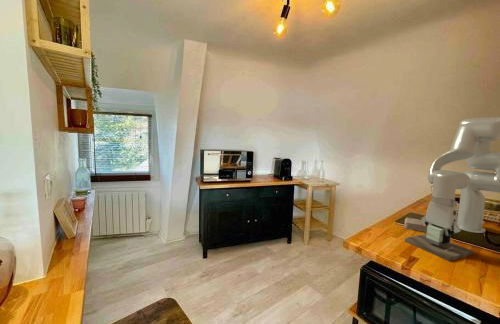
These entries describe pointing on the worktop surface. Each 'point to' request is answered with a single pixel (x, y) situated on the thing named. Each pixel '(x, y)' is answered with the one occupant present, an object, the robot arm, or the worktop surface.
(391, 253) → the worktop surface
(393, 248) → the worktop surface
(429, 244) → the board
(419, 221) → the brick
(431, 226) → the block
